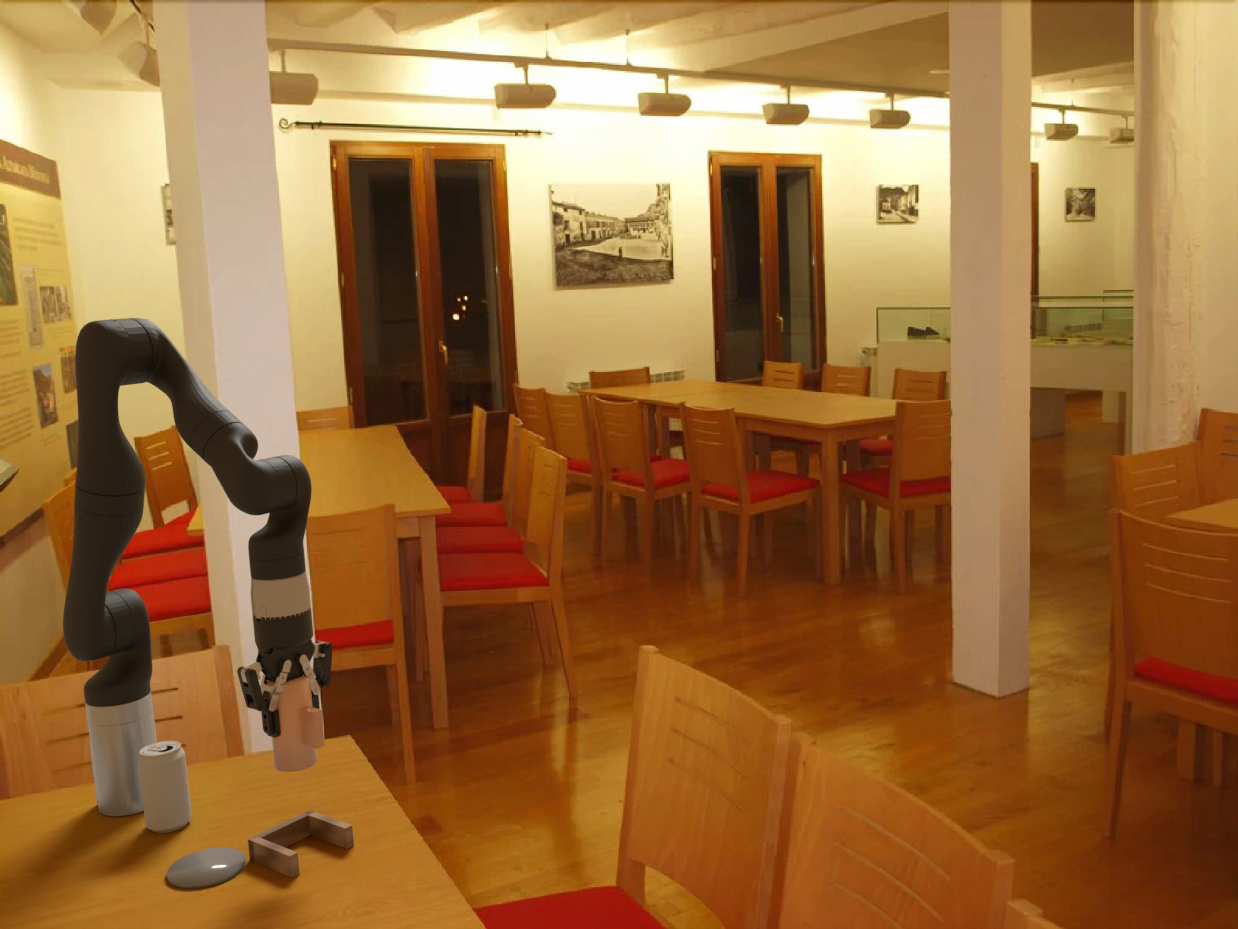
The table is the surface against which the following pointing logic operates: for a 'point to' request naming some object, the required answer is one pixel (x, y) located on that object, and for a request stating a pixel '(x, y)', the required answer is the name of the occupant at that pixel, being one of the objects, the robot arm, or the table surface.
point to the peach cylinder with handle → (297, 727)
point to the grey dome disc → (206, 868)
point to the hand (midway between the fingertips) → (292, 727)
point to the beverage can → (164, 786)
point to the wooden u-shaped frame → (274, 840)
